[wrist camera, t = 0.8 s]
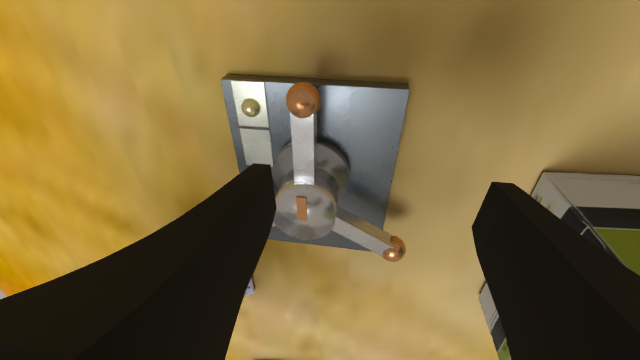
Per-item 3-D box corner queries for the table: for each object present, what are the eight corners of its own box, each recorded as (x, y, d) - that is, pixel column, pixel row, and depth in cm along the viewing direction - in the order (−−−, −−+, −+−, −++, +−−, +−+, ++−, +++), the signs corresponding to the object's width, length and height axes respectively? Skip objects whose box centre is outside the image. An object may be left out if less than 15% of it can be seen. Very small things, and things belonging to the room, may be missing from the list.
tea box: (592, 306, 26) (764, 581, 15) (474, 294, 28) (546, 535, 16) (724, 172, 17) (1449, 616, 6) (539, 164, 19) (811, 504, 7)
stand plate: (377, 243, 25) (377, 258, 24) (256, 228, 27) (250, 243, 25) (408, 83, 17) (410, 94, 15) (227, 74, 18) (215, 83, 17)
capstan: (400, 235, 23) (405, 277, 20) (231, 216, 24) (211, 252, 21) (442, 75, 15) (458, 105, 12) (191, 63, 17) (151, 86, 14)
